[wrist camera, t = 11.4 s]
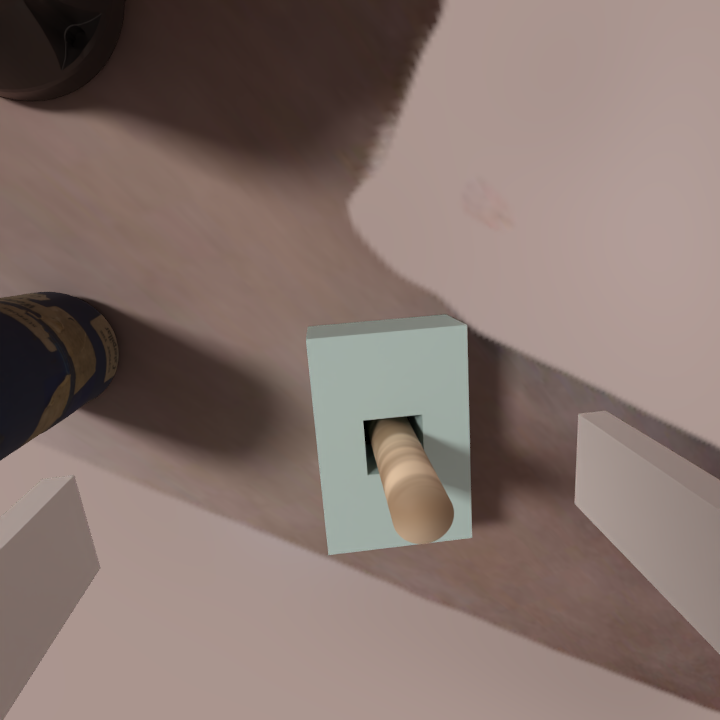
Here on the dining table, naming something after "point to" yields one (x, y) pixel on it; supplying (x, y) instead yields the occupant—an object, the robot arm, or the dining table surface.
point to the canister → (49, 362)
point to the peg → (409, 482)
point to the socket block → (387, 400)
